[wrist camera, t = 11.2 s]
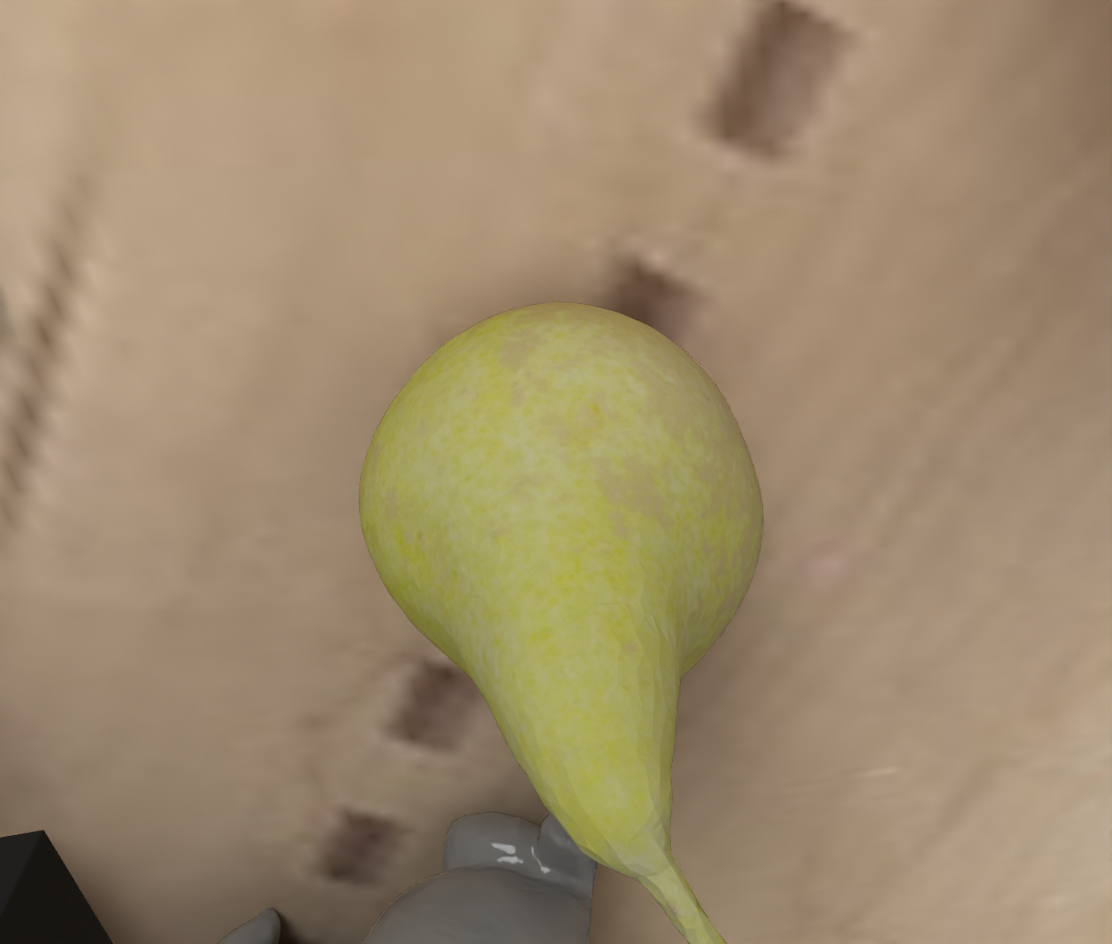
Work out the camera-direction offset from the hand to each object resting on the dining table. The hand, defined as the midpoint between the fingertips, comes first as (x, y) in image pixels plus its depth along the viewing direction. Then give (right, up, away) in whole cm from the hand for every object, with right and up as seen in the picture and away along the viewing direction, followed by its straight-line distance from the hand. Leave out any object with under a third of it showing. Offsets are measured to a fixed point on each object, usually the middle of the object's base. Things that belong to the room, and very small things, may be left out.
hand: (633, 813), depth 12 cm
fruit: (-1, +5, +9) cm, 11 cm away
